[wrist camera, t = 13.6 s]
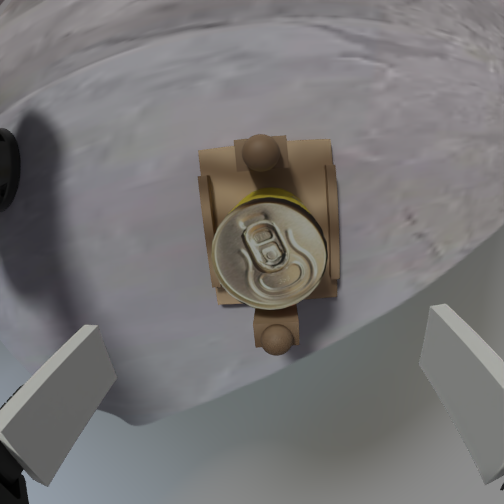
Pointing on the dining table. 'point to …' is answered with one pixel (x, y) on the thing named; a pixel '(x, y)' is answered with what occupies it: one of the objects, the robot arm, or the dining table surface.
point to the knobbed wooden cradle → (278, 176)
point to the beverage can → (269, 250)
